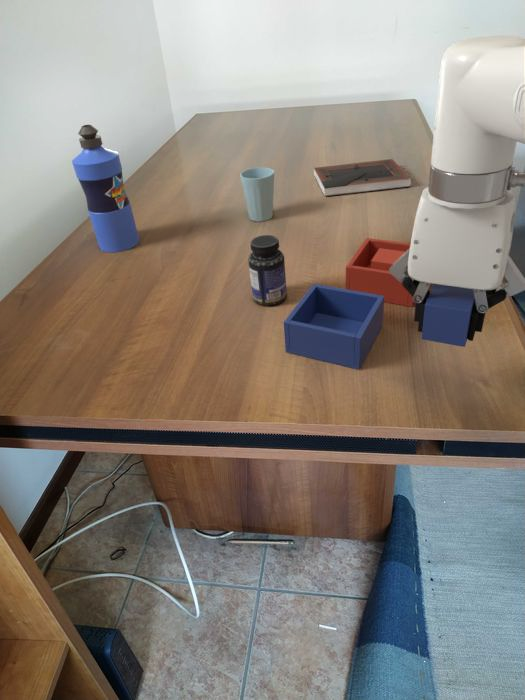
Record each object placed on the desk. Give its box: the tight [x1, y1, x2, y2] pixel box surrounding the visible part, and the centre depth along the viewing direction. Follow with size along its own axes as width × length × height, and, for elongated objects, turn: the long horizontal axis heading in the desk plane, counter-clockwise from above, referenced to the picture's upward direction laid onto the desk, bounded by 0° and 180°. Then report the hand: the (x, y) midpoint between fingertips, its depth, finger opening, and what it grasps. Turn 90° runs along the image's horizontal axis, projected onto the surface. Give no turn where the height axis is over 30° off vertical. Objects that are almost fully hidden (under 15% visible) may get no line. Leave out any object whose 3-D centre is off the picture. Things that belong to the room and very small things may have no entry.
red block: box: [371, 248, 405, 271], centre depth 87 cm, size 5×5×5 cm
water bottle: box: [71, 124, 140, 253], centre depth 105 cm, size 9×9×25 cm
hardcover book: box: [313, 158, 412, 197], centre depth 130 cm, size 16×2×22 cm
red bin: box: [344, 237, 415, 308], centre depth 87 cm, size 12×12×6 cm
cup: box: [239, 166, 275, 223], centre depth 114 cm, size 8×8×10 cm
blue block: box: [420, 284, 475, 348], centre depth 60 cm, size 5×5×5 cm
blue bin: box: [283, 283, 385, 370], centre depth 76 cm, size 12×12×6 cm
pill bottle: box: [247, 234, 288, 307], centre depth 85 cm, size 6×6×11 cm
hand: (447, 328), depth 61 cm, fingers closed on blue block, 5 cm apart
